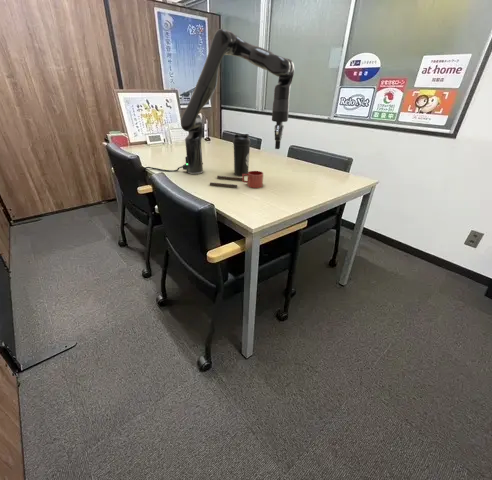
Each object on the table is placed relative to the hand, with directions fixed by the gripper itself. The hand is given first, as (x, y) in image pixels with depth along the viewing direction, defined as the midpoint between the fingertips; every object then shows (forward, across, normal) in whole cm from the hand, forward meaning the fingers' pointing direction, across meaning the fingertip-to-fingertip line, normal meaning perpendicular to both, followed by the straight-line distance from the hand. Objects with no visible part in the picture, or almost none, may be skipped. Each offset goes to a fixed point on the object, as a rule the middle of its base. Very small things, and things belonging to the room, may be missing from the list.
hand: (277, 148), depth 131 cm
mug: (+20, 0, -12) cm, 23 cm away
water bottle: (+20, -19, -23) cm, 36 cm away
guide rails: (+20, 0, -26) cm, 33 cm away
